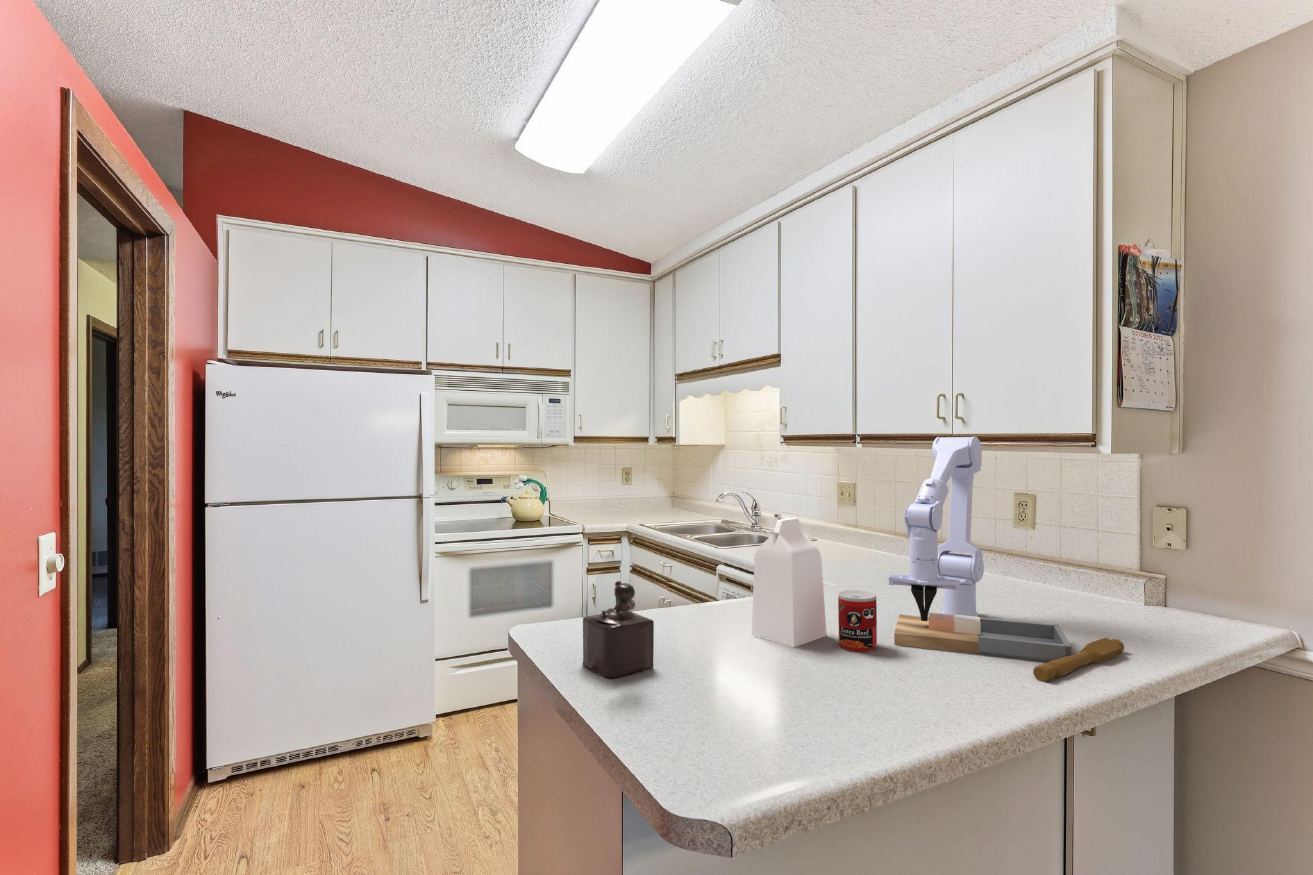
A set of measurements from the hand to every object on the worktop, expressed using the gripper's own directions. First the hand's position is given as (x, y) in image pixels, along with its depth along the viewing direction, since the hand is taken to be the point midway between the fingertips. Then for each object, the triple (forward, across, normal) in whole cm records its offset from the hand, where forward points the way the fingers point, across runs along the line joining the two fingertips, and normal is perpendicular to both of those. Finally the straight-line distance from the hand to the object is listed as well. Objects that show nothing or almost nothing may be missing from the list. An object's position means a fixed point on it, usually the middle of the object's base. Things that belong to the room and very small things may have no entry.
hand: (924, 620), depth 141 cm
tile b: (+1, +8, 0) cm, 9 cm away
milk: (+4, -28, -10) cm, 30 cm away
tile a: (+1, +3, 0) cm, 4 cm away
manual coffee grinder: (+4, -52, -44) cm, 68 cm away
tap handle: (+4, +28, -7) cm, 29 cm away
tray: (+4, +18, 0) cm, 19 cm away
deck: (+4, +2, 0) cm, 4 cm away
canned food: (+4, -13, -12) cm, 18 cm away
